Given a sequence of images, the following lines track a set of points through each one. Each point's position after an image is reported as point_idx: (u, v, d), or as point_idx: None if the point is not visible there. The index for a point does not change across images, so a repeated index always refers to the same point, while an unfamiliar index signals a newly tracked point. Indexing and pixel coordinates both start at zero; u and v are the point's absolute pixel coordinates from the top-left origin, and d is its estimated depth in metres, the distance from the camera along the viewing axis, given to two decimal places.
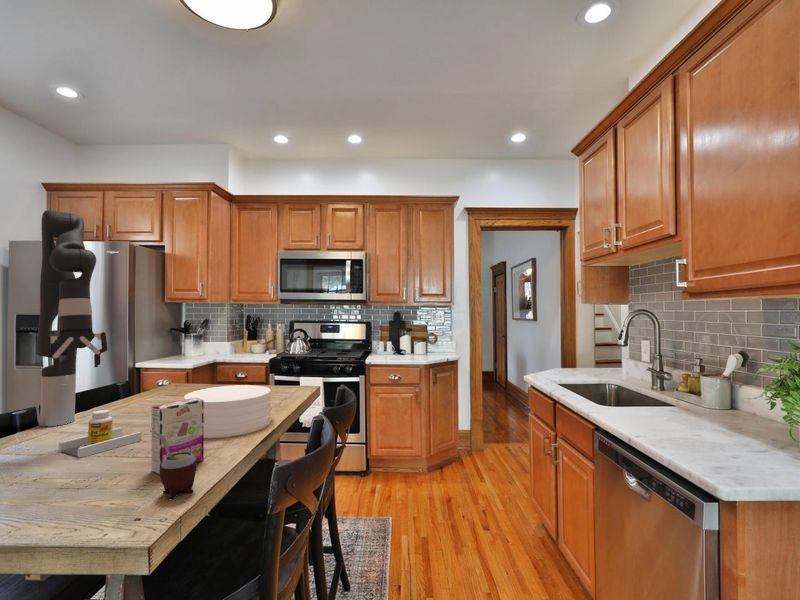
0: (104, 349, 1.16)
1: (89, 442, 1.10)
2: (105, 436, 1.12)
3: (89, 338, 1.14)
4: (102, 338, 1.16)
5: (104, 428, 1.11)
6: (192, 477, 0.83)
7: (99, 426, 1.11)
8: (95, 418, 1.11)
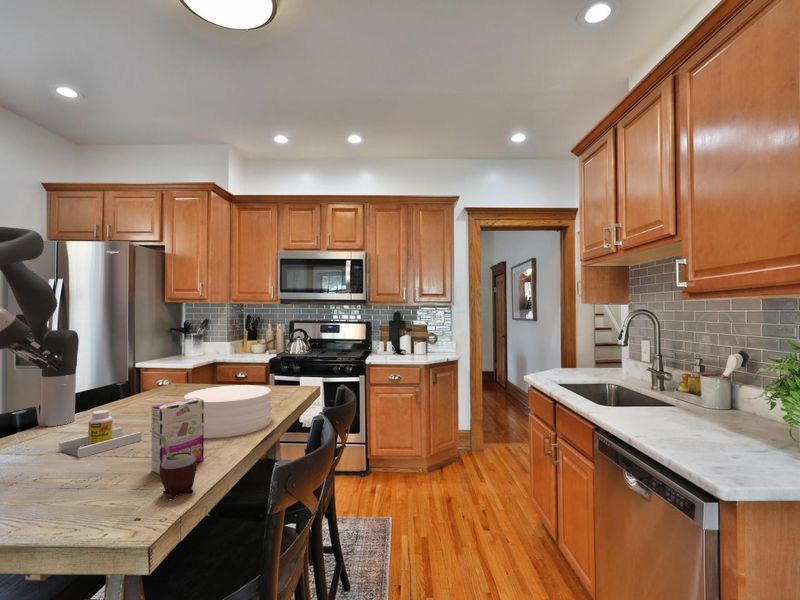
0: (45, 360, 0.96)
1: (89, 442, 1.10)
2: (105, 436, 1.12)
3: (26, 349, 0.96)
4: (33, 351, 0.95)
5: (104, 428, 1.11)
6: (192, 477, 0.83)
7: (99, 426, 1.11)
8: (95, 418, 1.11)
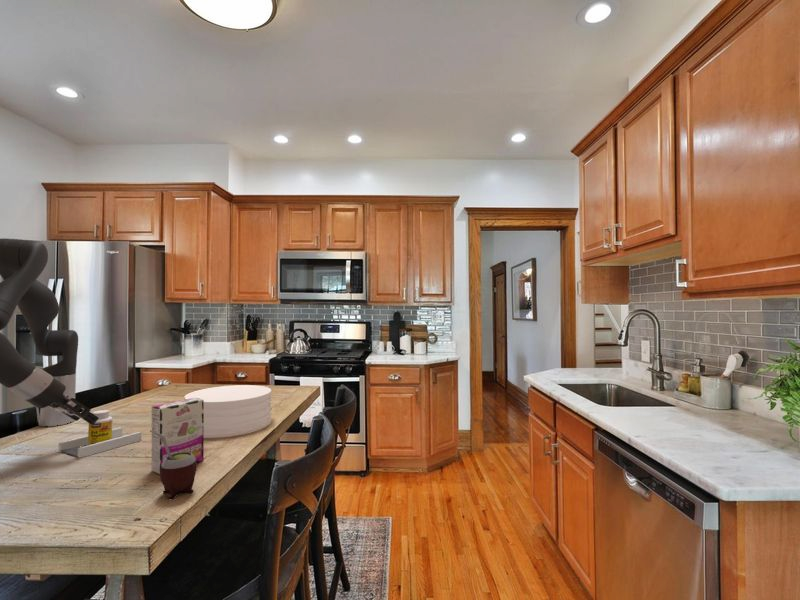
0: (80, 416, 1.03)
1: (89, 442, 1.10)
2: (105, 436, 1.12)
3: (63, 407, 1.03)
4: (69, 409, 1.01)
5: (104, 428, 1.11)
6: (192, 477, 0.83)
7: (99, 426, 1.11)
8: None
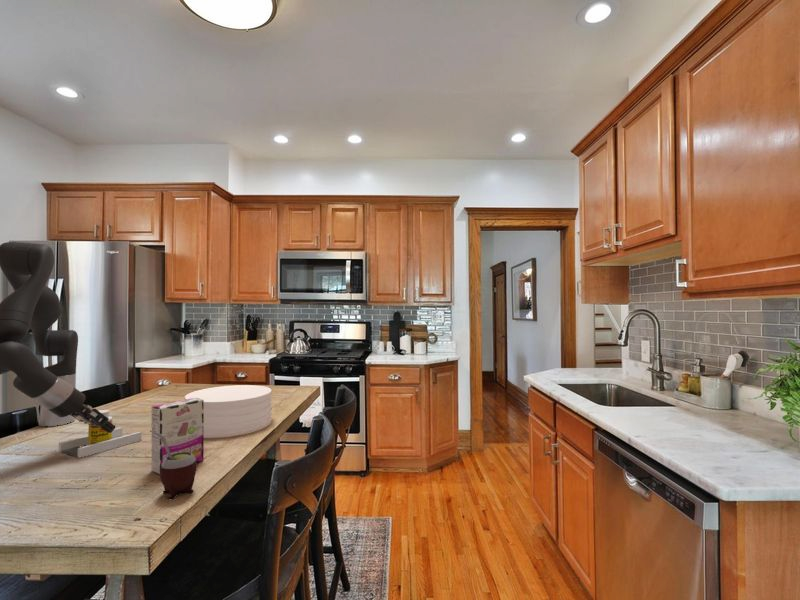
0: (99, 425, 1.08)
1: (89, 442, 1.10)
2: (105, 436, 1.12)
3: (82, 415, 1.07)
4: None
5: None
6: (192, 477, 0.83)
7: None
8: None
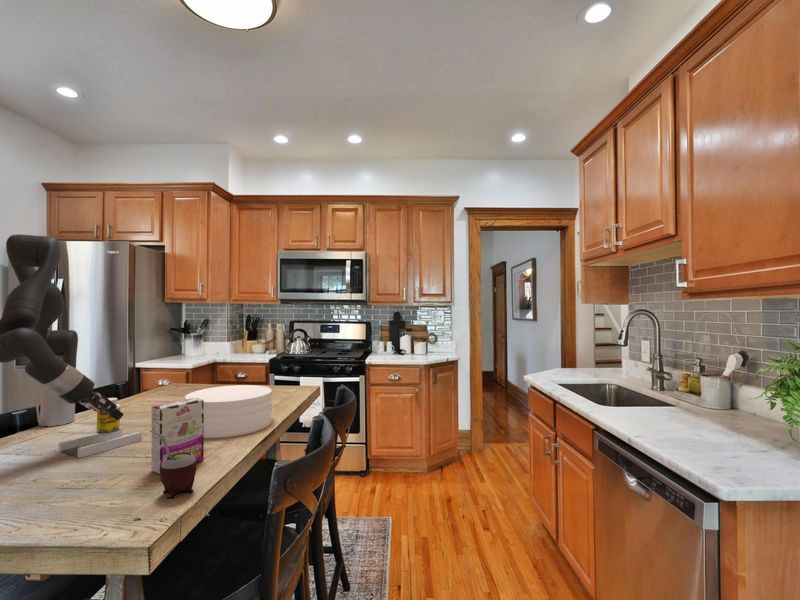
0: (108, 412, 1.10)
1: (98, 429, 1.12)
2: (114, 423, 1.14)
3: (91, 402, 1.09)
4: None
5: None
6: (192, 477, 0.83)
7: None
8: None
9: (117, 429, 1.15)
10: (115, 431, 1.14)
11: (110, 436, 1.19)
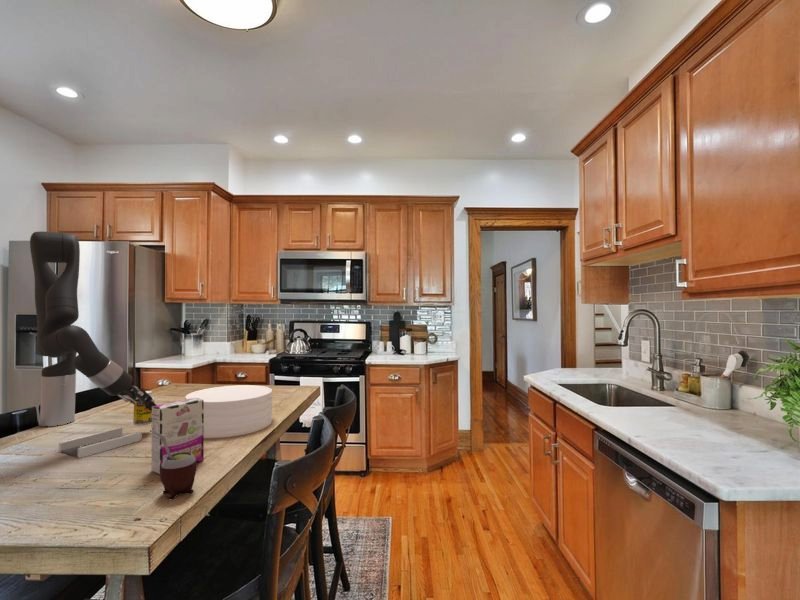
0: (145, 404, 1.20)
1: (135, 419, 1.22)
2: (149, 414, 1.23)
3: (130, 395, 1.18)
4: (138, 398, 1.17)
5: None
6: (192, 477, 0.83)
7: None
8: None
9: None
10: (150, 422, 1.24)
11: (110, 436, 1.19)
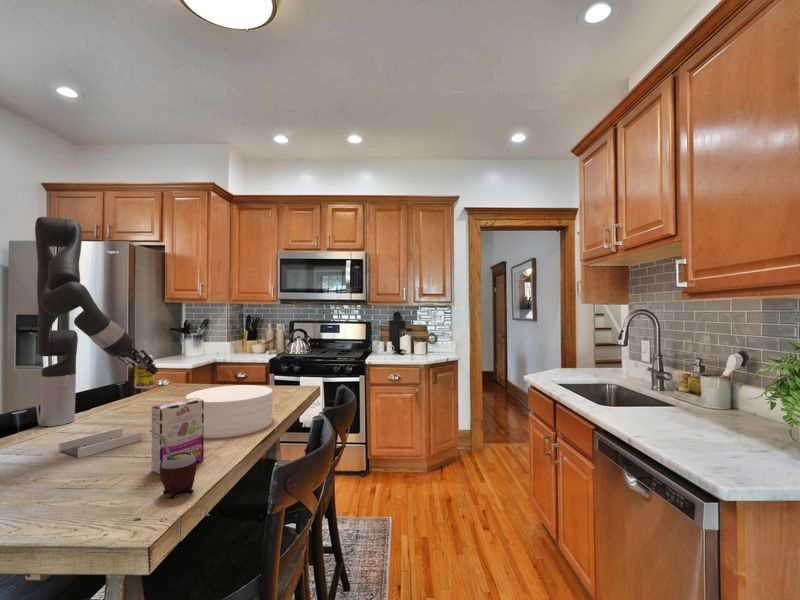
0: (146, 366, 1.20)
1: (135, 382, 1.22)
2: (150, 377, 1.23)
3: (131, 356, 1.18)
4: (139, 359, 1.18)
5: None
6: (192, 477, 0.83)
7: (144, 368, 1.22)
8: None
9: (153, 383, 1.25)
10: (151, 385, 1.24)
11: (110, 436, 1.19)
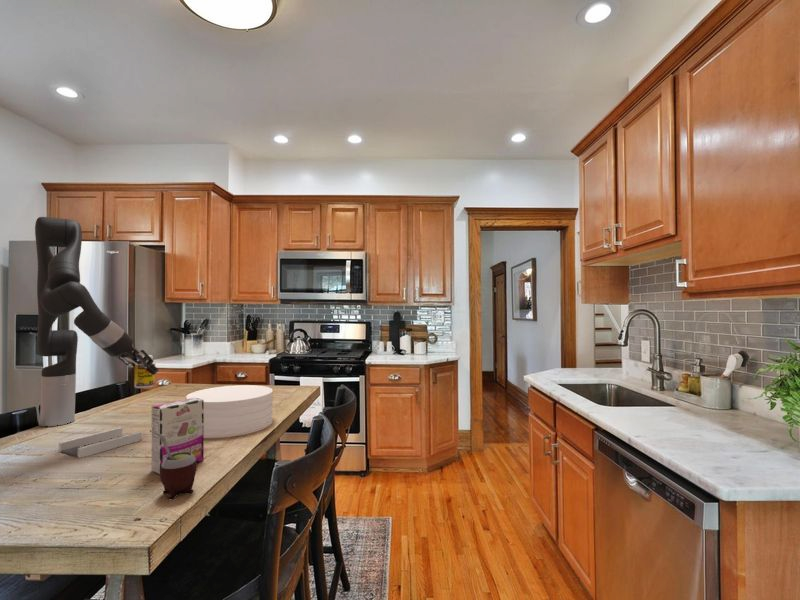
0: (146, 366, 1.20)
1: (135, 382, 1.22)
2: (150, 377, 1.23)
3: (131, 356, 1.18)
4: (139, 359, 1.18)
5: None
6: (192, 477, 0.83)
7: (144, 368, 1.22)
8: None
9: (153, 383, 1.25)
10: (151, 385, 1.24)
11: (110, 436, 1.19)
